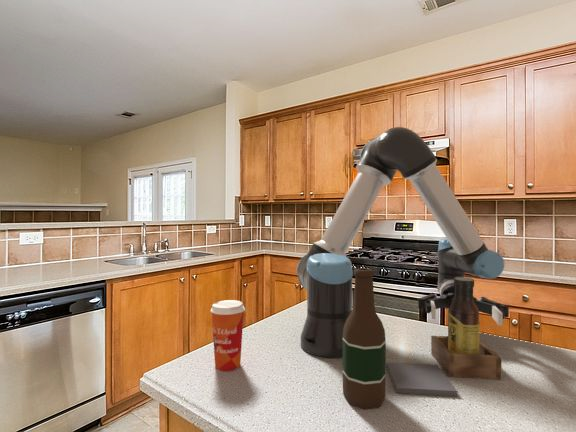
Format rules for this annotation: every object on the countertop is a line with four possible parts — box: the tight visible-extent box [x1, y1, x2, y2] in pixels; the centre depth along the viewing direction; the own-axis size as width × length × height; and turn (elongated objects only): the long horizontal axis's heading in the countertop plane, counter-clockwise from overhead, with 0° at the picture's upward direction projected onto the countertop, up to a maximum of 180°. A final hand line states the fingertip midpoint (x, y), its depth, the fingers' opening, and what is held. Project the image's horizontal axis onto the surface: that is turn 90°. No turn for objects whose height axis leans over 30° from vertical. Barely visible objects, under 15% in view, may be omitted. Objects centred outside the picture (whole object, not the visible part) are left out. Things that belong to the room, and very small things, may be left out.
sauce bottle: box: [447, 276, 480, 355], centre depth 74 cm, size 7×6×20 cm
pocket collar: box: [430, 335, 502, 380], centre depth 74 cm, size 10×11×4 cm
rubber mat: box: [386, 361, 458, 397], centre depth 67 cm, size 11×11×1 cm
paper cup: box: [210, 299, 246, 372], centre depth 74 cm, size 8×8×14 cm
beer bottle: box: [342, 267, 387, 410], centre depth 61 cm, size 8×8×24 cm
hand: (466, 316), depth 75 cm, fingers open, 13 cm apart
